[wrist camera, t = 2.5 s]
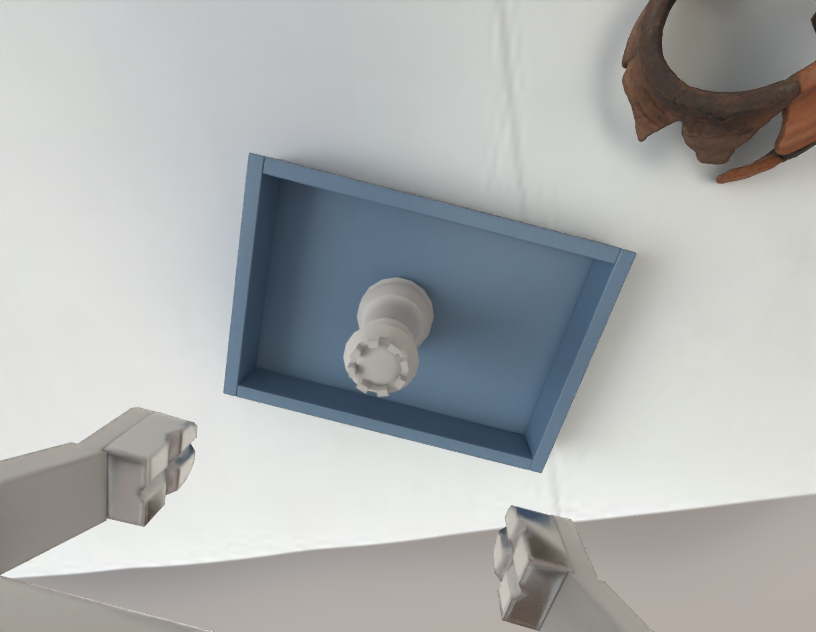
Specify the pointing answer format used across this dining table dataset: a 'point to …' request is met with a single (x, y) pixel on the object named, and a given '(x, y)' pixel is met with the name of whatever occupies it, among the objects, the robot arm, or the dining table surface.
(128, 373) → the dining table surface
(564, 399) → the tray
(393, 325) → the rook chess piece
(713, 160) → the broken clay pot
